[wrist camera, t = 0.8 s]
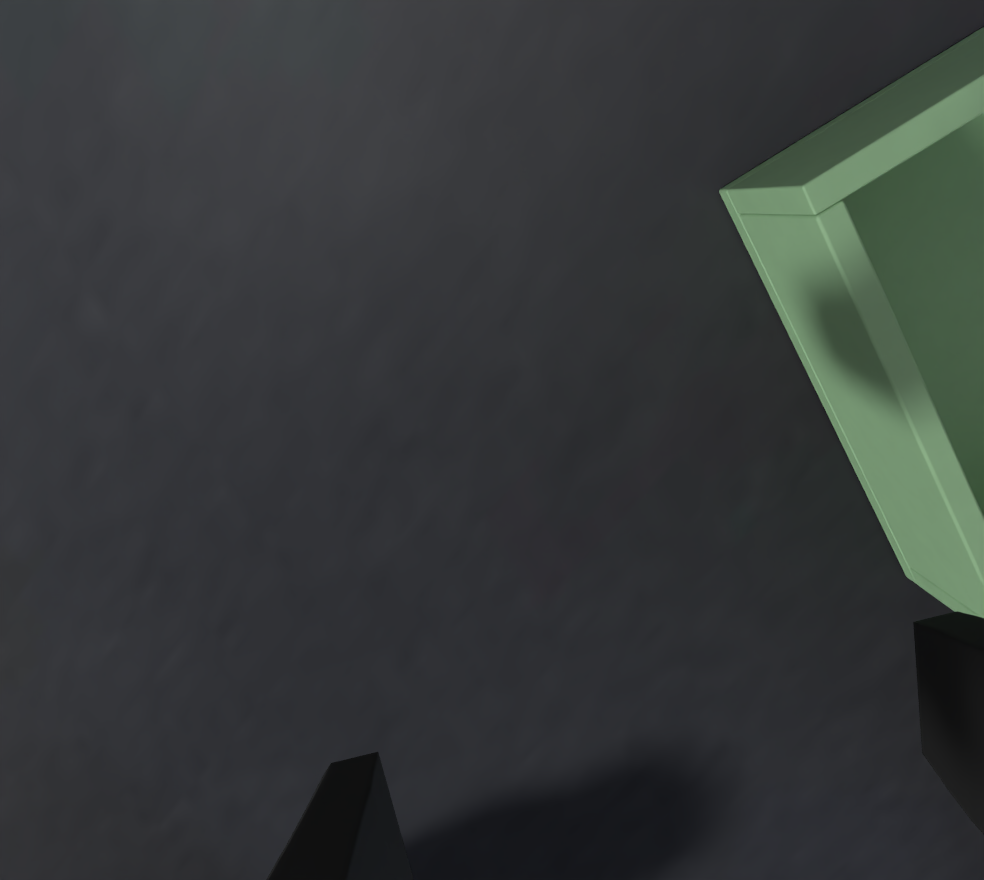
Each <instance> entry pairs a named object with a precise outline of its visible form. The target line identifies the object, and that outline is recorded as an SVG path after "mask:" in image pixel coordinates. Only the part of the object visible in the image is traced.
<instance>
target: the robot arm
mask: <svg viewBox="0 0 984 880" xmlns="http://www.w3.org/2000/svg"><path fill="white" fill-rule="evenodd" d="M913 623H914V638H915V653H916V668H917V683H918V698H919V712H920V727H921V742H922V753H923V755H924V756H925V757H926V759H927V760H928V762H929V763H930V765H931V766H932V767H933V769H934V770H935V772H936V773H937V774H938V776H939V777H940V779H941V780H942V782H943V783H944V784H945V786H946V787H947V789H948V790H949V791H950V793H951V794H952V795H953V797H954V798H955V799H956V801H957V802H958V803H959V805H960V806H961V807H962V809H963V810H964V811H965V813H966V814H967V815H968V817H969V818H970V819H971V821H972V822H973V823H974V824H975V825H976V826H977V827H978V828H979V830H980V831H981V832H982V833H983V834H984V618H981V617H978V616H974V615H970V614H966V613H962V612H958V611H957V612H953V613H949V614H944V615H940V616H936V617H932V618H928V619H924V620H920V621H916V622H913ZM267 880H414V879H413V876H412V872H411V869H410V865H409V861H408V858H407V854H406V851H405V847H404V843H403V840H402V836H401V833H400V829H399V825H398V822H397V818H396V815H395V811H394V807H393V804H392V800H391V797H390V793H389V790H388V786H387V782H386V779H385V775H384V772H383V768H382V764H381V761H380V757H379V754H378V752H375V753H371V754H367V755H363V756H359V757H355V758H351V759H347V760H342V761H338V762H334V763H331V764H330V766H329V767H328V769H327V770H326V772H325V773H324V775H323V777H322V779H321V781H320V783H319V785H318V787H317V789H316V791H315V793H314V794H313V796H312V798H311V800H310V802H309V804H308V806H307V808H306V810H305V812H304V814H303V815H302V817H301V819H300V821H299V823H298V825H297V827H296V828H295V830H294V832H293V834H292V836H291V838H290V839H289V841H288V843H287V845H286V847H285V848H284V850H283V852H282V854H281V855H280V857H279V859H278V861H277V862H276V864H275V866H274V867H273V869H272V871H271V873H270V874H269V876H268V878H267Z"/></svg>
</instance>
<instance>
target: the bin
mask: <svg viewBox="0 0 984 880" xmlns="http://www.w3.org/2000/svg"><path fill="white" fill-rule="evenodd" d="M719 193H720V195H721V197H722V199H723V201H724V203H725V205H726V207H727V209H728V211H729V213H730V215H731V217H732V219H733V222H734V224H735V226H736V228H737V230H738V232H739V234H740V236H741V238H742V240H743V242H744V244H745V246H746V248H747V250H748V252H749V254H750V256H751V258H752V261H753V263H754V265H755V267H756V269H757V271H758V273H759V275H760V277H761V279H762V281H763V283H764V285H765V287H766V289H767V291H768V293H769V295H770V298H771V300H772V302H773V304H774V306H775V308H776V310H777V312H778V314H779V316H780V318H781V320H782V322H783V324H784V326H785V328H786V330H787V332H788V334H789V337H790V339H791V341H792V343H793V345H794V347H795V349H796V351H797V353H798V355H799V357H800V359H801V361H802V363H803V365H804V367H805V369H806V371H807V374H808V376H809V378H810V380H811V382H812V384H813V386H814V388H815V390H816V392H817V394H818V396H819V398H820V400H821V402H822V404H823V406H824V408H825V410H826V413H827V415H828V417H829V419H830V421H831V423H832V425H833V427H834V429H835V431H836V433H837V435H838V437H839V439H840V441H841V443H842V445H843V447H844V450H845V452H846V454H847V456H848V458H849V460H850V462H851V464H852V466H853V468H854V470H855V472H856V474H857V476H858V478H859V480H860V482H861V484H862V486H863V489H864V491H865V493H866V495H867V497H868V499H869V501H870V503H871V505H872V507H873V509H874V511H875V513H876V515H877V517H878V519H879V521H880V523H881V526H882V528H883V530H884V532H885V534H886V536H887V538H888V540H889V542H890V544H891V546H892V548H893V550H894V552H895V554H896V556H897V558H898V560H899V562H900V565H901V567H902V569H903V571H904V573H905V575H906V577H908V578H909V579H910V580H912V581H913V582H915V583H916V584H918V585H919V586H920V587H921V588H923V589H924V590H925V591H927V592H928V593H930V594H931V595H932V596H934V597H935V598H937V599H938V600H939V601H941V602H942V603H943V604H945V605H946V606H948V607H949V608H950V609H952V610H953V611H955V612H957V611H958V612H962V613H966V614H970V615H974V616H978V617H981V618H984V27H983V28H981V29H979V30H978V31H976V32H974V33H973V34H971V35H970V36H968V37H966V38H965V39H963V40H962V41H960V42H958V43H957V44H955V45H953V46H952V47H950V48H949V49H947V50H945V51H944V52H942V53H940V54H939V55H937V56H936V57H934V58H932V59H931V60H929V61H927V62H926V63H924V64H923V65H921V66H919V67H918V68H916V69H914V70H913V71H911V72H910V73H908V74H906V75H905V76H903V77H901V78H900V79H898V80H897V81H895V82H893V83H892V84H890V85H888V86H887V87H885V88H884V89H882V90H880V91H879V92H877V93H876V94H874V95H872V96H871V97H869V98H867V99H866V100H864V101H863V102H861V103H859V104H858V105H856V106H854V107H853V108H851V109H850V110H848V111H846V112H845V113H843V114H841V115H840V116H838V117H837V118H835V119H833V120H832V121H830V122H828V123H827V124H825V125H824V126H822V127H820V128H819V129H817V130H815V131H814V132H812V133H811V134H809V135H807V136H806V137H804V138H802V139H801V140H799V141H798V142H796V143H794V144H793V145H791V146H789V147H788V148H786V149H785V150H783V151H781V152H780V153H778V154H777V155H775V156H773V157H772V158H770V159H768V160H767V161H765V162H764V163H762V164H760V165H759V166H757V167H755V168H754V169H752V170H751V171H749V172H747V173H746V174H744V175H742V176H741V177H739V178H738V179H736V180H734V181H733V182H731V183H729V184H728V185H726V186H725V187H723V188H721V189H720V190H719Z"/></svg>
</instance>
